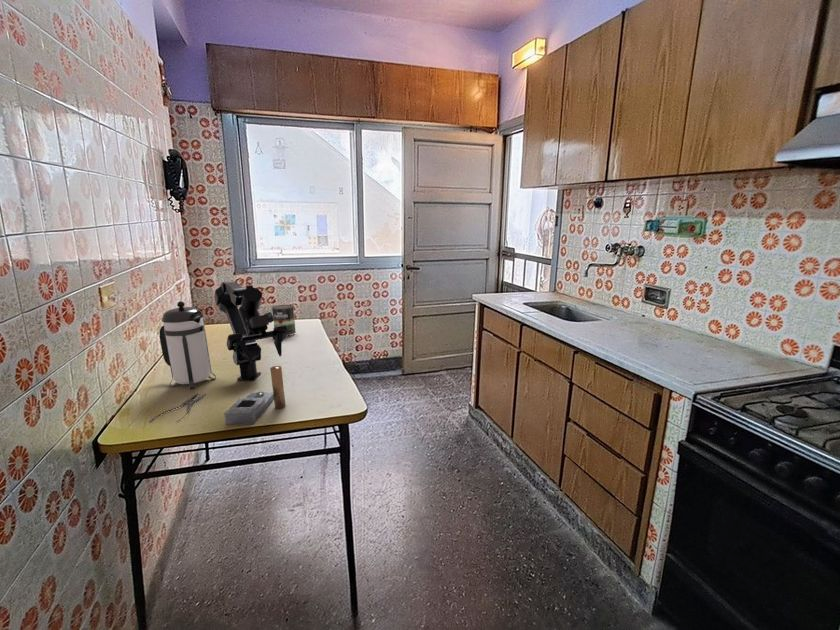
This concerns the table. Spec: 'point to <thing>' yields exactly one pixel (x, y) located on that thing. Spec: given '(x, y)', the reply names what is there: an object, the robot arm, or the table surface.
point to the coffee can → (284, 317)
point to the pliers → (189, 402)
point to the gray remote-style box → (248, 408)
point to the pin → (278, 387)
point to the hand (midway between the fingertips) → (266, 359)
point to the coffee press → (185, 345)
